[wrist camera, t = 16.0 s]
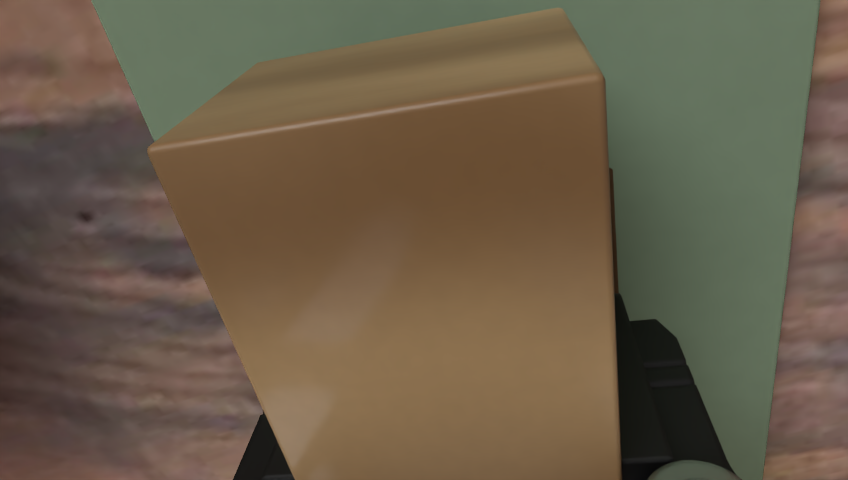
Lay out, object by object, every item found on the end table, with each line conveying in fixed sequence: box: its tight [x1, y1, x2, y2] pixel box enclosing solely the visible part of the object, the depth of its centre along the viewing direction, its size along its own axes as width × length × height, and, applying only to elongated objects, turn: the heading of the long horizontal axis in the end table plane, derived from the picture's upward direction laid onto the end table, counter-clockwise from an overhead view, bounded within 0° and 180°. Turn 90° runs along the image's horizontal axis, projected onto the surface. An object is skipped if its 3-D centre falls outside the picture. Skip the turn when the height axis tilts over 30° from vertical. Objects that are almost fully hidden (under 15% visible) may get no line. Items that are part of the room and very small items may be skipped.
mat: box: [91, 0, 820, 480], centre depth 12 cm, size 20×11×1 cm, turn 11°
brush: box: [147, 8, 622, 480], centre depth 10 cm, size 12×4×4 cm, turn 11°
